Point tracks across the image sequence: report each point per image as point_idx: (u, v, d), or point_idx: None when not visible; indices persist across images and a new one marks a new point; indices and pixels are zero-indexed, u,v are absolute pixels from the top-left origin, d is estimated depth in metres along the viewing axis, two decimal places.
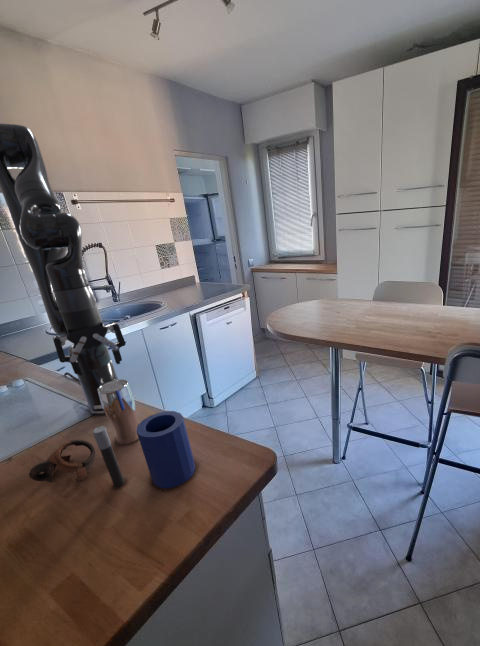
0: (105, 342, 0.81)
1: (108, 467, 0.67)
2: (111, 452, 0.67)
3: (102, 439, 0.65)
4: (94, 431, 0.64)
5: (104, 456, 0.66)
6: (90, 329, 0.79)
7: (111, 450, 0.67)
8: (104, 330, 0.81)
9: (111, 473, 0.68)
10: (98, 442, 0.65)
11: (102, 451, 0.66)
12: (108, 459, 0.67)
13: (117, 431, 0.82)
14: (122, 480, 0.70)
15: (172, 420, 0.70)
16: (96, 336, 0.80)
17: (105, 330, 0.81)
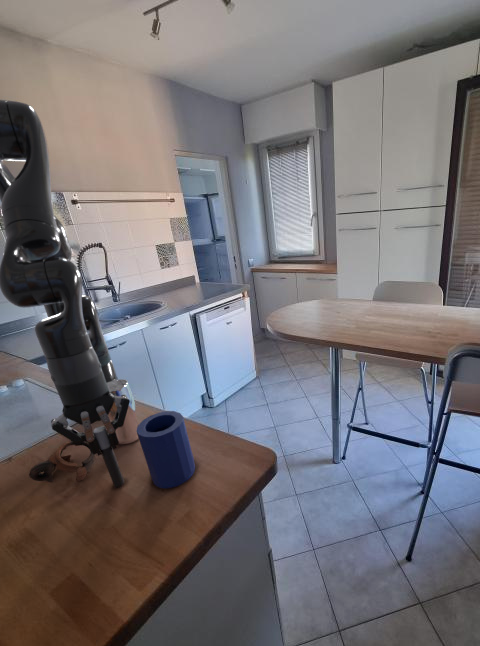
0: (104, 420, 0.63)
1: (108, 467, 0.67)
2: (111, 452, 0.67)
3: (102, 439, 0.65)
4: (94, 431, 0.64)
5: (104, 456, 0.66)
6: (93, 401, 0.62)
7: (111, 450, 0.67)
8: (111, 400, 0.64)
9: (111, 473, 0.68)
10: (98, 442, 0.65)
11: (102, 451, 0.66)
12: (108, 459, 0.67)
13: (117, 431, 0.82)
14: (122, 480, 0.70)
15: (172, 420, 0.70)
16: (101, 409, 0.62)
17: (112, 400, 0.64)
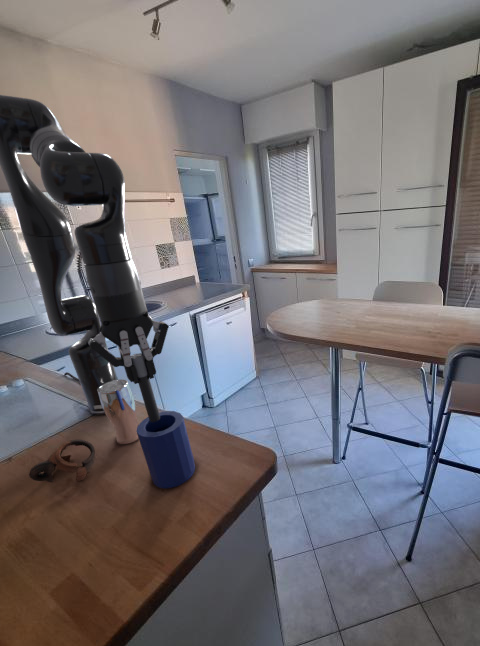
0: (143, 343, 0.59)
1: (145, 398, 0.63)
2: (148, 382, 0.63)
3: (140, 366, 0.61)
4: (131, 356, 0.60)
5: (141, 385, 0.62)
6: (132, 321, 0.58)
7: (148, 380, 0.63)
8: (149, 322, 0.60)
9: (147, 405, 0.64)
10: (135, 369, 0.61)
11: (139, 379, 0.62)
12: (145, 389, 0.63)
13: (117, 431, 0.82)
14: (158, 415, 0.66)
15: (172, 420, 0.70)
16: (140, 330, 0.58)
17: (151, 322, 0.60)
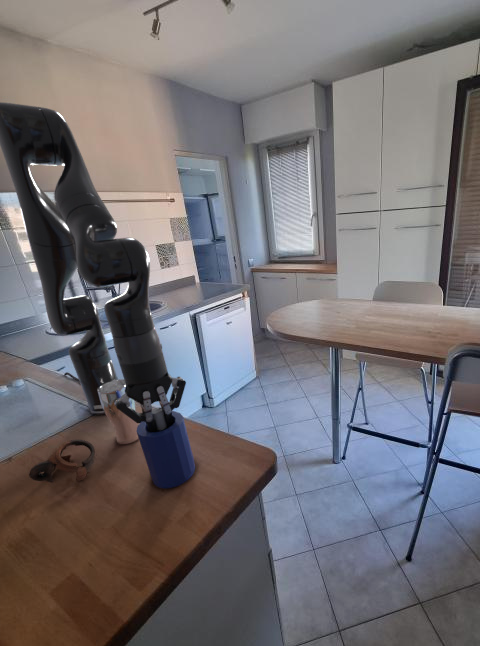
0: (163, 400, 0.64)
1: None
2: None
3: (160, 420, 0.66)
4: (152, 412, 0.65)
5: None
6: (153, 381, 0.63)
7: None
8: (169, 381, 0.65)
9: None
10: (156, 423, 0.66)
11: None
12: None
13: (117, 431, 0.82)
14: None
15: None
16: (161, 389, 0.63)
17: (170, 381, 0.65)
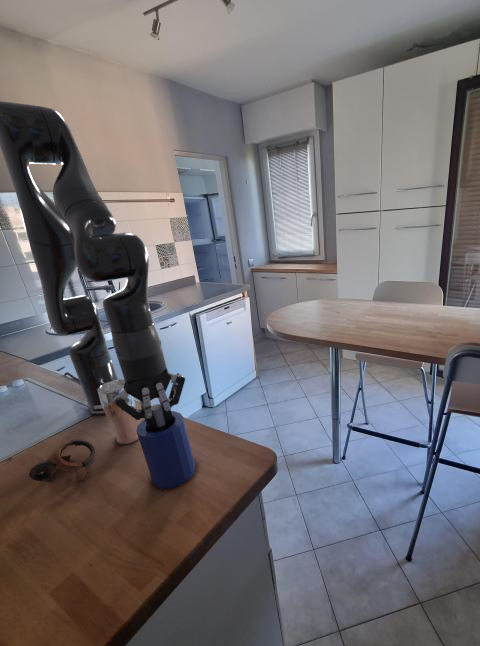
0: (162, 397, 0.64)
1: None
2: None
3: (159, 416, 0.65)
4: (151, 408, 0.65)
5: None
6: (153, 377, 0.63)
7: (166, 428, 0.68)
8: (168, 377, 0.65)
9: None
10: (155, 419, 0.66)
11: (158, 429, 0.67)
12: None
13: (117, 431, 0.82)
14: None
15: None
16: (160, 386, 0.63)
17: (169, 377, 0.65)
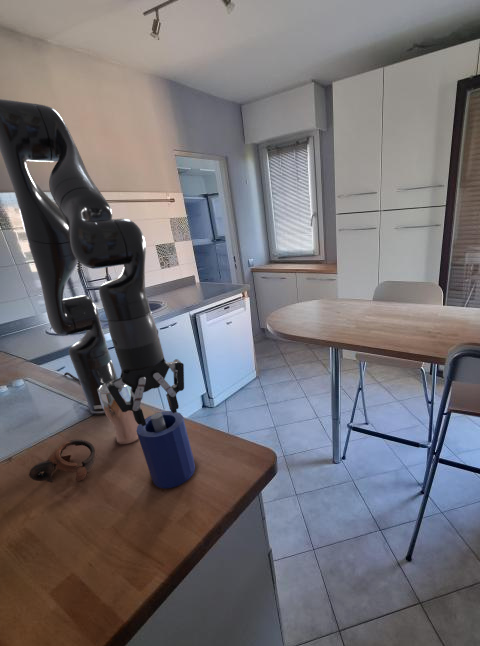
0: (164, 385, 0.64)
1: None
2: None
3: (159, 425, 0.66)
4: (152, 417, 0.66)
5: None
6: (150, 367, 0.62)
7: None
8: (166, 367, 0.64)
9: None
10: (156, 428, 0.66)
11: None
12: None
13: (117, 431, 0.82)
14: None
15: (172, 420, 0.70)
16: (157, 376, 0.62)
17: (167, 367, 0.64)
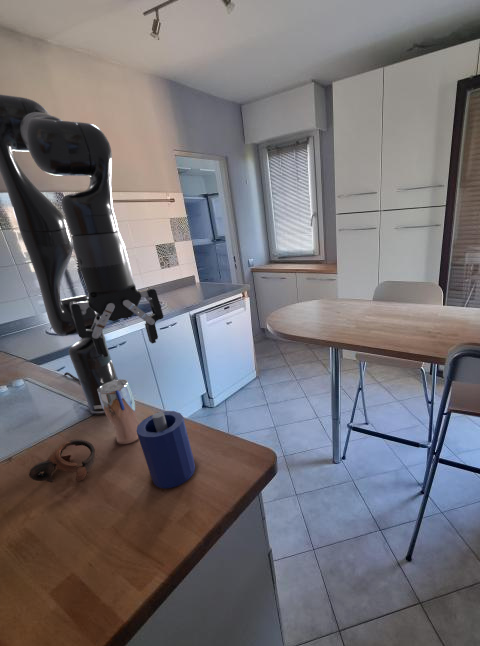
0: (138, 313, 0.61)
1: None
2: None
3: (161, 424, 0.66)
4: (154, 416, 0.66)
5: None
6: (119, 294, 0.58)
7: None
8: (137, 296, 0.60)
9: None
10: (157, 427, 0.66)
11: None
12: None
13: (117, 431, 0.82)
14: None
15: (172, 420, 0.70)
16: (127, 304, 0.59)
17: (138, 296, 0.61)
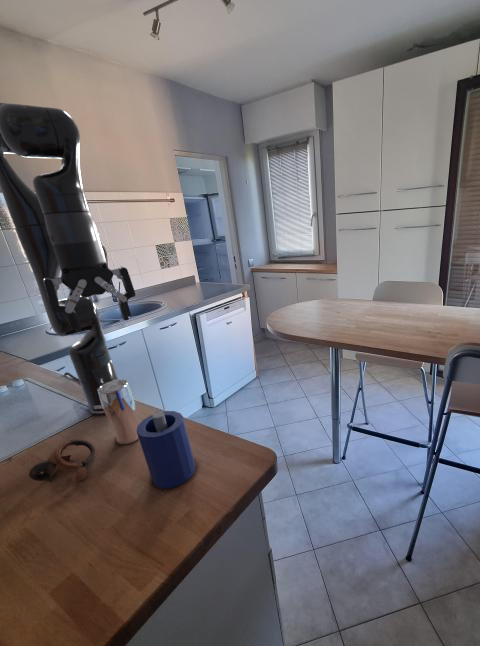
0: (110, 290, 0.64)
1: None
2: None
3: (161, 424, 0.66)
4: (154, 416, 0.66)
5: None
6: (91, 271, 0.62)
7: None
8: (109, 274, 0.64)
9: None
10: (157, 427, 0.66)
11: None
12: None
13: (117, 431, 0.82)
14: None
15: (172, 420, 0.70)
16: (99, 280, 0.62)
17: (110, 274, 0.64)
